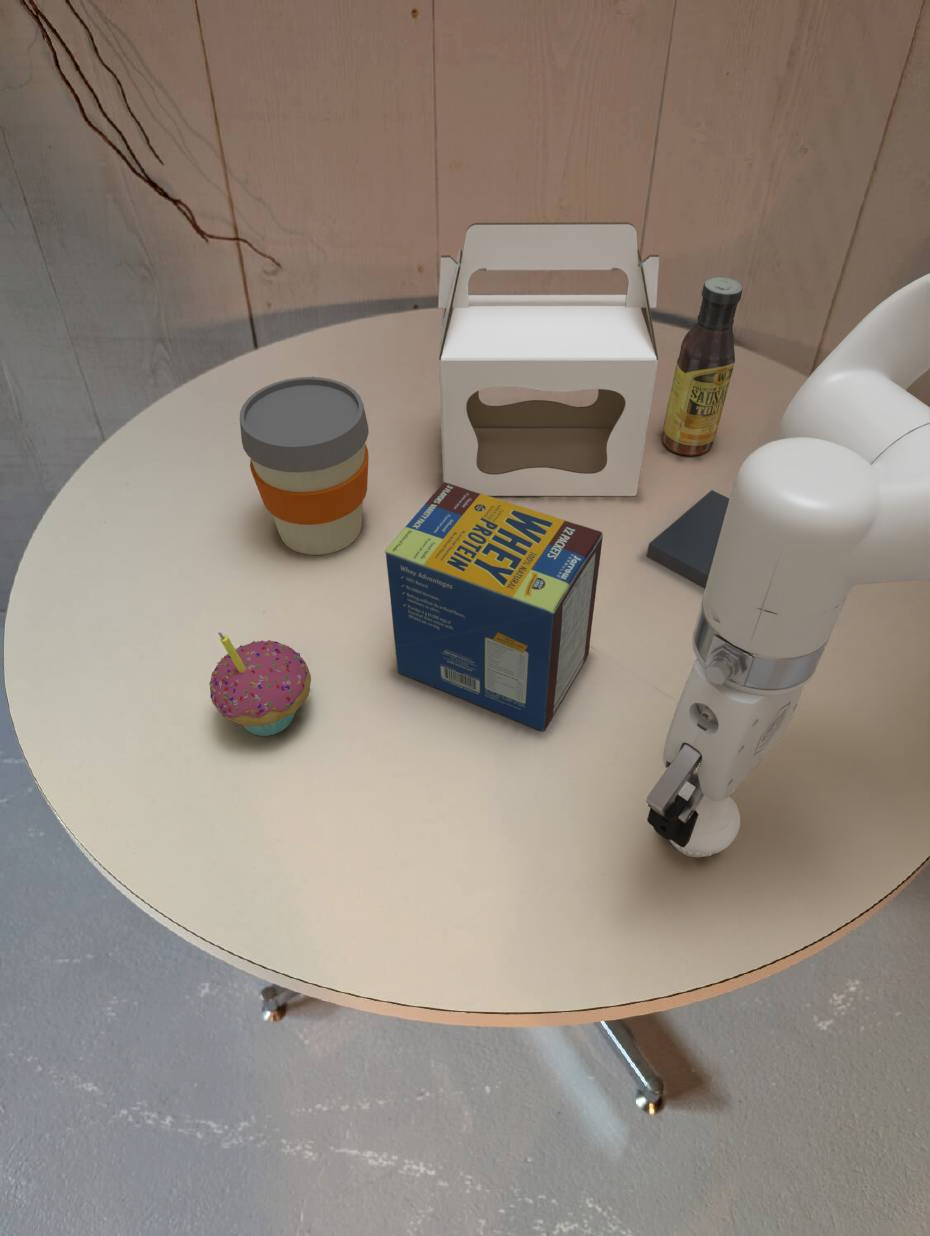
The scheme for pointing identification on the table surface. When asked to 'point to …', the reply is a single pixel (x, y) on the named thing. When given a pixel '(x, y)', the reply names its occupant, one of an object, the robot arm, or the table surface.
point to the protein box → (493, 602)
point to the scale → (692, 539)
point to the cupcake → (260, 685)
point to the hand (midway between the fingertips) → (704, 790)
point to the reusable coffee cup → (309, 460)
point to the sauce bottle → (703, 371)
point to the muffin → (710, 825)
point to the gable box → (547, 364)
